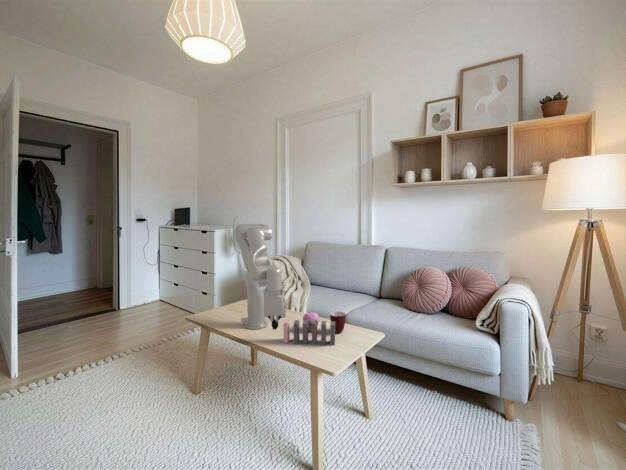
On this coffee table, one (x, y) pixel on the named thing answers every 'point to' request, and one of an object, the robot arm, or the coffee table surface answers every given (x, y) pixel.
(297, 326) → the domino
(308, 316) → the cupcake
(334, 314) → the mug
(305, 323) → the domino
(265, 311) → the robot arm
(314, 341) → the domino
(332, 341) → the domino
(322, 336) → the domino
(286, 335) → the rose domino
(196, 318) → the coffee table surface
